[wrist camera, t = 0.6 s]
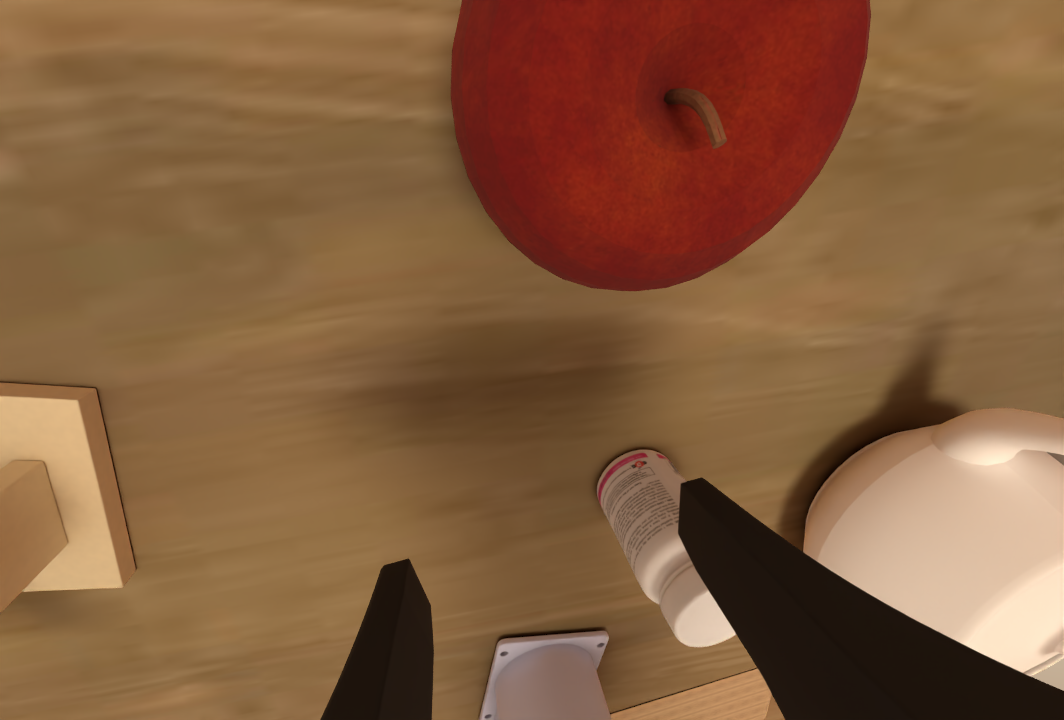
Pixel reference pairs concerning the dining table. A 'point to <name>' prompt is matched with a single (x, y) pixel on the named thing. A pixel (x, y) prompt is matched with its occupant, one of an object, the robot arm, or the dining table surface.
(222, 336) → the dining table surface
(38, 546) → the bracket
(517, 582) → the dining table surface
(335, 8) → the dining table surface
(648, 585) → the pill bottle
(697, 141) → the apple
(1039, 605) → the teapot
